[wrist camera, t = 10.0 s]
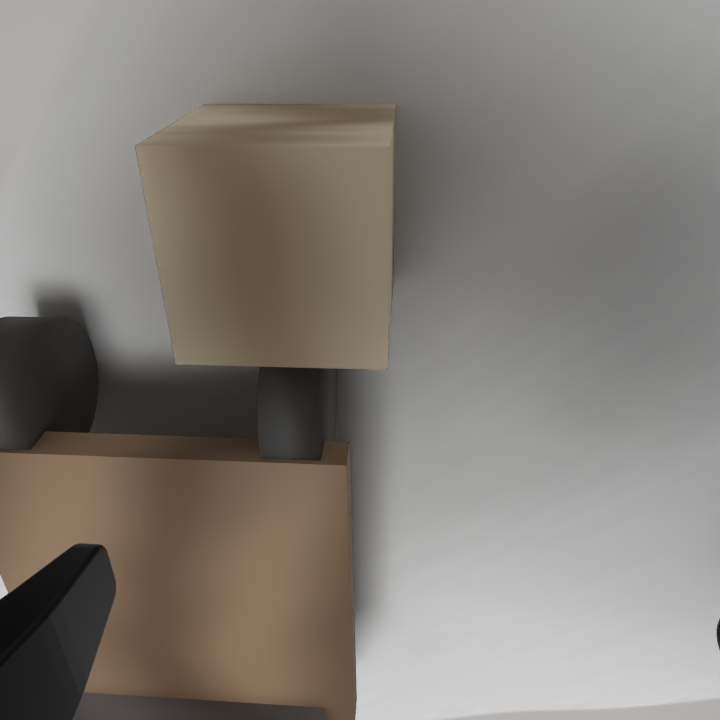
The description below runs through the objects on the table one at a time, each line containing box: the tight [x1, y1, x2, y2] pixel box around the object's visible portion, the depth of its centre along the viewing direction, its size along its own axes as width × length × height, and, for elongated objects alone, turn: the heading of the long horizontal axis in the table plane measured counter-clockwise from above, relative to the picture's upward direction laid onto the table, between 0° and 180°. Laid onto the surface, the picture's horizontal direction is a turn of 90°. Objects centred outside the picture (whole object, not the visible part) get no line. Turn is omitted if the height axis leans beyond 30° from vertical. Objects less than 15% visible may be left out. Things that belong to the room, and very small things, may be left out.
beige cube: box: [135, 104, 396, 370], centre depth 16 cm, size 5×5×5 cm
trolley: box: [0, 317, 357, 720], centre depth 20 cm, size 11×17×8 cm, turn 1°
